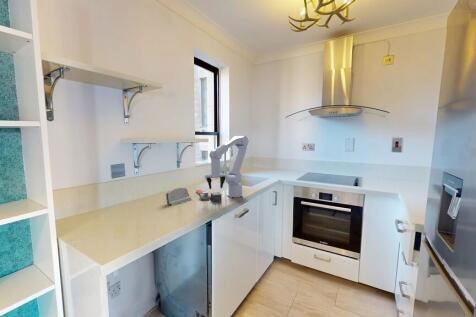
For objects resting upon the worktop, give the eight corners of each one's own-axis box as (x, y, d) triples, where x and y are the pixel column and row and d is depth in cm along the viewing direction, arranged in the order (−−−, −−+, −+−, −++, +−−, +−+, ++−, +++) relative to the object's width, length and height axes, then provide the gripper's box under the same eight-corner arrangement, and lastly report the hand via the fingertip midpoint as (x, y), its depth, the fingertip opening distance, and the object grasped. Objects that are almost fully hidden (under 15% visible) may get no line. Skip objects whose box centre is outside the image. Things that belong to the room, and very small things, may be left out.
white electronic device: (171, 206, 130) (167, 190, 131) (167, 207, 133) (163, 191, 134) (192, 199, 144) (188, 185, 145) (187, 200, 147) (184, 186, 148)
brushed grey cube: (218, 199, 144) (218, 192, 144) (221, 201, 139) (221, 194, 139) (210, 200, 142) (210, 193, 142) (213, 202, 137) (213, 195, 136)
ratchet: (203, 191, 167) (203, 185, 166) (212, 199, 144) (212, 192, 143) (193, 192, 163) (193, 186, 163) (201, 201, 141) (201, 194, 140)
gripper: (224, 166, 145) (224, 186, 146) (203, 167, 139) (203, 188, 140) (227, 168, 139) (227, 188, 140) (206, 169, 133) (206, 190, 134)
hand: (215, 188), depth 140 cm, fingers open, 7 cm apart
